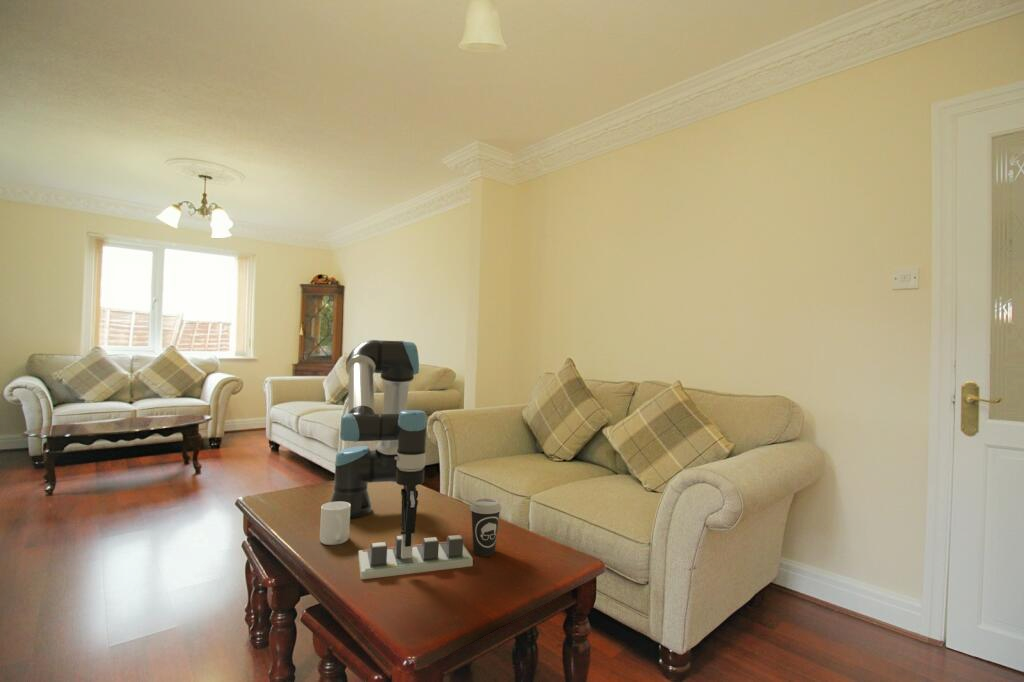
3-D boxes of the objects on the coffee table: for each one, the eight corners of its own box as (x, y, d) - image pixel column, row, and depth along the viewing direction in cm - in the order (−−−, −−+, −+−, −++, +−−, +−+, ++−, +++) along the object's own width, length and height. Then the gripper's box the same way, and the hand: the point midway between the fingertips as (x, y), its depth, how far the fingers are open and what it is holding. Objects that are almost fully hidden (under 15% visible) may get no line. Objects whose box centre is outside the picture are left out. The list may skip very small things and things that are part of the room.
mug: (325, 551, 140) (327, 514, 140) (316, 538, 150) (318, 503, 150) (355, 546, 144) (356, 510, 145) (344, 533, 154) (346, 499, 155)
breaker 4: (446, 552, 137) (447, 535, 137) (459, 551, 138) (460, 534, 138) (448, 556, 134) (449, 539, 134) (462, 555, 135) (463, 538, 135)
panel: (358, 557, 137) (358, 549, 137) (460, 546, 147) (460, 539, 147) (361, 579, 123) (361, 570, 124) (472, 566, 134) (472, 558, 134)
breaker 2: (394, 552, 135) (395, 535, 135) (409, 551, 136) (409, 534, 136) (396, 557, 132) (397, 539, 132) (410, 555, 133) (411, 538, 134)
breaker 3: (421, 555, 134) (422, 538, 134) (435, 553, 135) (436, 536, 136) (423, 559, 131) (424, 542, 131) (438, 557, 133) (438, 540, 133)
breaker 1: (370, 560, 129) (370, 542, 129) (385, 559, 131) (386, 541, 131) (370, 565, 126) (371, 547, 126) (386, 563, 128) (387, 545, 128)
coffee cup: (504, 548, 147) (506, 499, 148) (492, 560, 138) (495, 508, 139) (475, 543, 150) (477, 495, 151) (462, 555, 141) (465, 503, 142)
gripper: (393, 463, 134) (389, 549, 133) (399, 474, 122) (395, 568, 121) (420, 462, 136) (416, 546, 135) (428, 473, 124) (424, 565, 123)
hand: (406, 556), depth 128 cm, fingers closed
